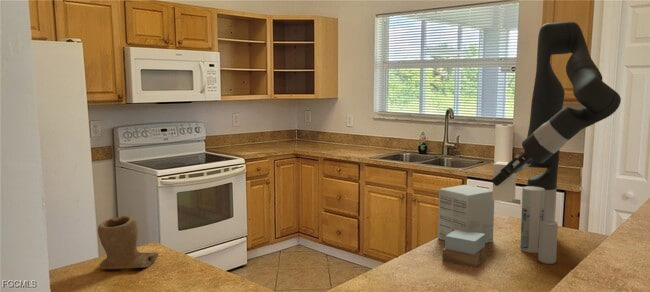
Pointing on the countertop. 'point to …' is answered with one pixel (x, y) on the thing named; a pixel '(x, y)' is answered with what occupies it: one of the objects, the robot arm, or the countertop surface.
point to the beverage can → (548, 242)
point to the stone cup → (122, 245)
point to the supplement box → (466, 210)
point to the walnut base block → (464, 257)
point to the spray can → (531, 217)
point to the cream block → (504, 184)
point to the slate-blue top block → (465, 241)
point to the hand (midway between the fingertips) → (497, 181)
